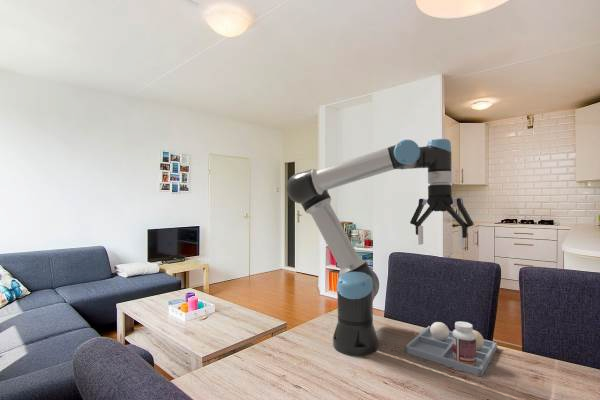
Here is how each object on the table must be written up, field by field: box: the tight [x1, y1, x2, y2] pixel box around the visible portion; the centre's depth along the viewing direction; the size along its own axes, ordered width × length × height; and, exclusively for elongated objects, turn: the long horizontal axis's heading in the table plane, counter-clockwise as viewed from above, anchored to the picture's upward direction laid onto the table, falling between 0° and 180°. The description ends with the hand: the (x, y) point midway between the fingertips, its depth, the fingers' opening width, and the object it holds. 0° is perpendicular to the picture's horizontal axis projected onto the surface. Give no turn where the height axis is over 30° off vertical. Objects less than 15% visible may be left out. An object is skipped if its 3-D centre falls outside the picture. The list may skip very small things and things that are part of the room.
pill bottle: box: [452, 321, 476, 366], centre depth 93 cm, size 6×6×11 cm
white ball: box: [430, 321, 450, 341], centre depth 107 cm, size 6×6×6 cm
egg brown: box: [472, 329, 485, 350], centre depth 101 cm, size 6×6×6 cm
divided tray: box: [404, 325, 498, 378], centre depth 100 cm, size 21×21×3 cm
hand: (440, 246), depth 109 cm, fingers open, 13 cm apart
